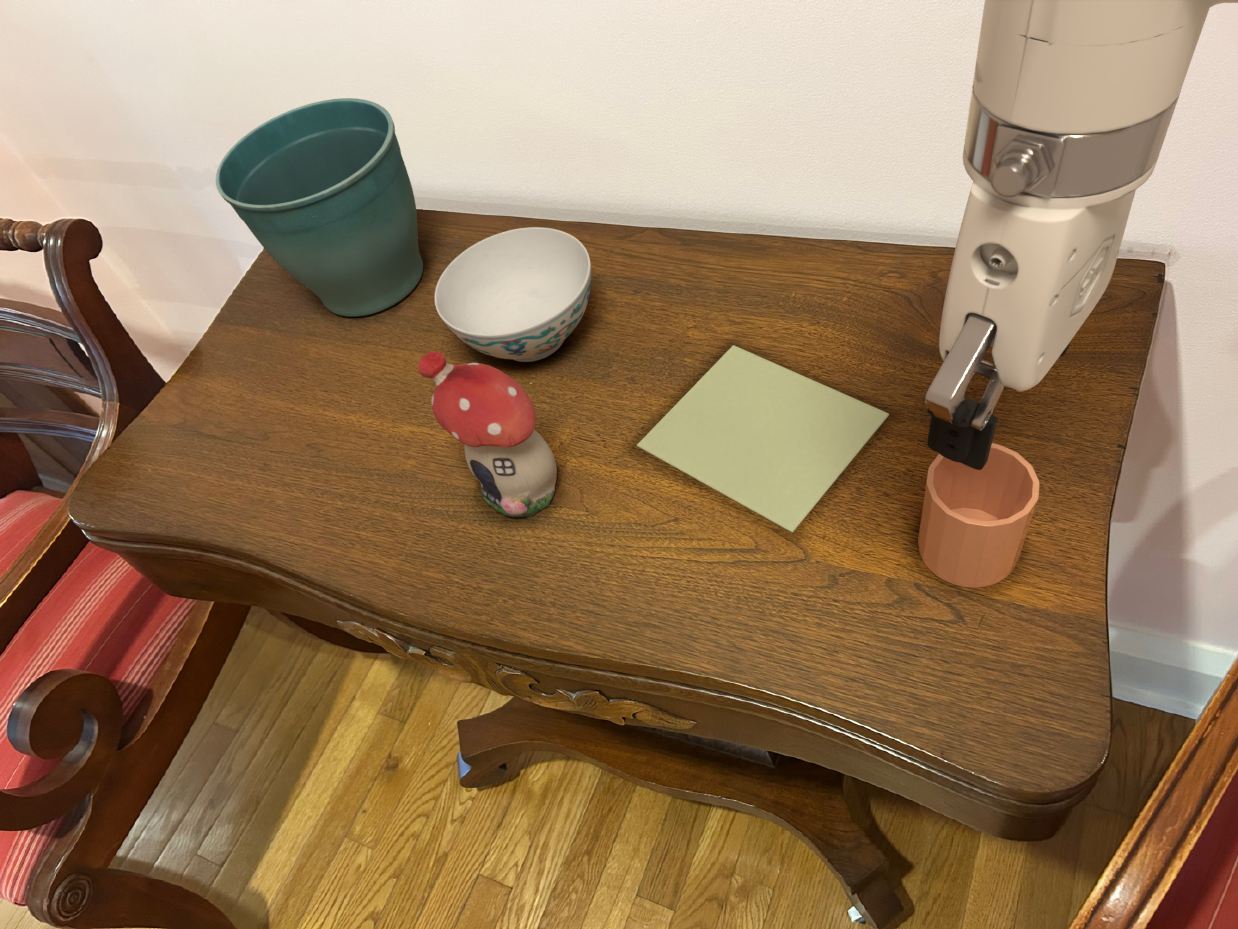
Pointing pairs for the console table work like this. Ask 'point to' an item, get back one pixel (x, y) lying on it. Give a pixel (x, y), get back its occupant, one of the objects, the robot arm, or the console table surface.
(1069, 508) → the console table surface
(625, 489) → the console table surface
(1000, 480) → the cup
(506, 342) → the chinaware
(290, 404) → the console table surface
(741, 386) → the mat
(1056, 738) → the console table surface
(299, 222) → the flower pot
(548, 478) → the decorative ornament
